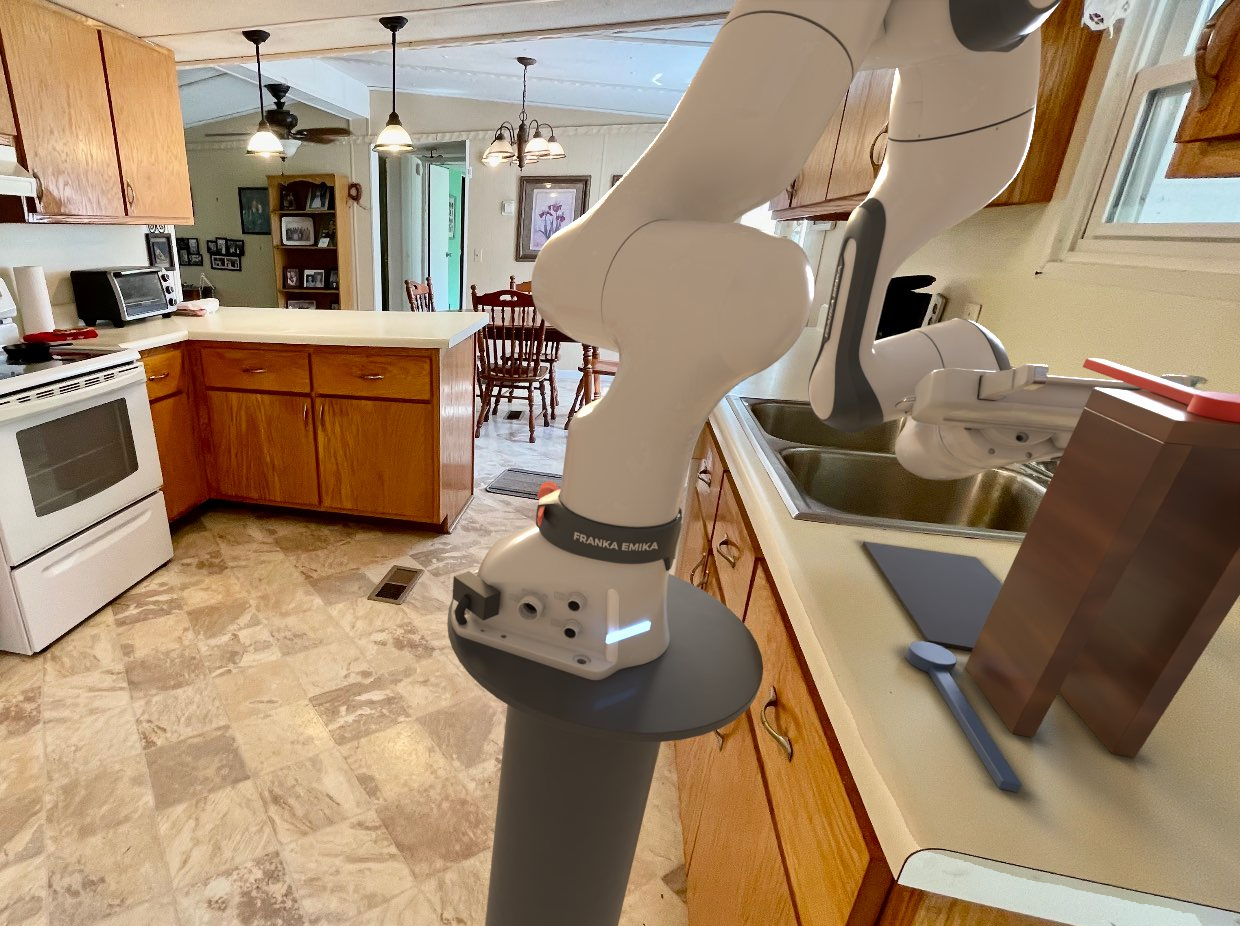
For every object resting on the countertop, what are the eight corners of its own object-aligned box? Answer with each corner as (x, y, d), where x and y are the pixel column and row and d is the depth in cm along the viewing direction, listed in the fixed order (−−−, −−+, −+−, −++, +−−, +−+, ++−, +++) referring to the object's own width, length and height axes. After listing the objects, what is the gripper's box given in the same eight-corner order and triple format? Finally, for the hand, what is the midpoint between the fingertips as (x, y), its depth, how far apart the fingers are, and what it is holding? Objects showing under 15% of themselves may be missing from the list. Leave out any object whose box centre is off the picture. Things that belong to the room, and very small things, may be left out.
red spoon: (1064, 365, 57) (1070, 351, 56) (1116, 369, 56) (1123, 355, 55) (1211, 420, 42) (1221, 402, 41) (1285, 427, 41) (1296, 408, 40)
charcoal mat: (927, 643, 64) (928, 640, 63) (862, 544, 83) (863, 541, 82) (1078, 669, 60) (1080, 666, 60) (974, 559, 79) (976, 556, 79)
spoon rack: (1011, 733, 53) (1176, 420, 42) (964, 666, 60) (1093, 387, 49) (1135, 758, 50) (1343, 434, 39) (1070, 685, 58) (1228, 398, 47)
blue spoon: (1038, 797, 47) (1045, 785, 46) (978, 784, 48) (985, 772, 47) (943, 655, 62) (948, 645, 61) (899, 647, 63) (903, 637, 62)
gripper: (891, 380, 70) (962, 331, 57) (1128, 401, 65) (1268, 351, 51) (884, 438, 70) (954, 402, 56) (1122, 463, 64) (1262, 430, 51)
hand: (1107, 378), depth 54 cm, fingers open, 8 cm apart
